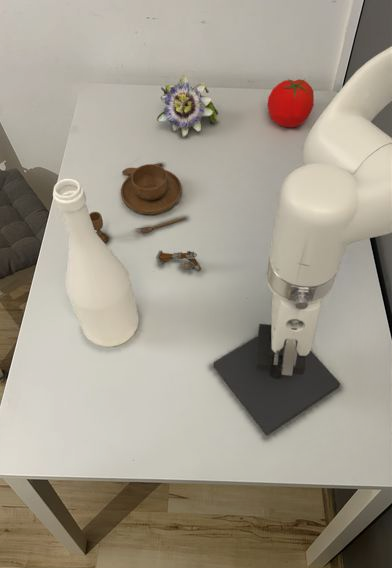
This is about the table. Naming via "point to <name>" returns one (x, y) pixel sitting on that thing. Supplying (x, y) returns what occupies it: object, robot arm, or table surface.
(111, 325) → the wine bottle
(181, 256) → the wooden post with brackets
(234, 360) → the base pad
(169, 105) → the passion flower
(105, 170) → the table surface
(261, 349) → the black block
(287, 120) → the tomato
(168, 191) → the place setting
